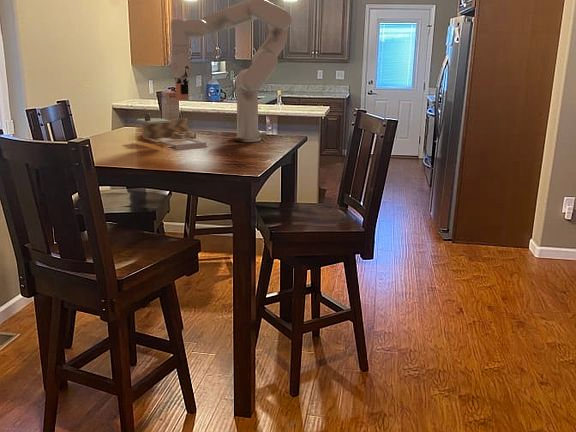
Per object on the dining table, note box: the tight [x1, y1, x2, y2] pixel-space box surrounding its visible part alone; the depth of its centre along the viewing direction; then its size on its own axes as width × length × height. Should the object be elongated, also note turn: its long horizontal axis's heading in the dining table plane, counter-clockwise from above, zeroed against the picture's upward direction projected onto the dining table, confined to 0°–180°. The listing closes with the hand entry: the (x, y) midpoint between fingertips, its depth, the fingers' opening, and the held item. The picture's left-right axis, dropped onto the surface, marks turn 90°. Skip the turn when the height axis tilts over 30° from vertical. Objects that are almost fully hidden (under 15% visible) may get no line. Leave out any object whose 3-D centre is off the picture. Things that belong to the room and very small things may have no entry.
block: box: [175, 83, 190, 101], centre depth 242 cm, size 4×4×7 cm
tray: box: [160, 138, 207, 151], centre depth 236 cm, size 14×14×2 cm
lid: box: [136, 112, 171, 124], centre depth 242 cm, size 10×13×4 cm
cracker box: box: [160, 90, 180, 120], centre depth 264 cm, size 14×6×21 cm, turn 22°
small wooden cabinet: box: [141, 118, 200, 145], centre depth 249 cm, size 22×13×9 cm, turn 129°
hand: (182, 93), depth 242 cm, fingers closed on block, 4 cm apart
